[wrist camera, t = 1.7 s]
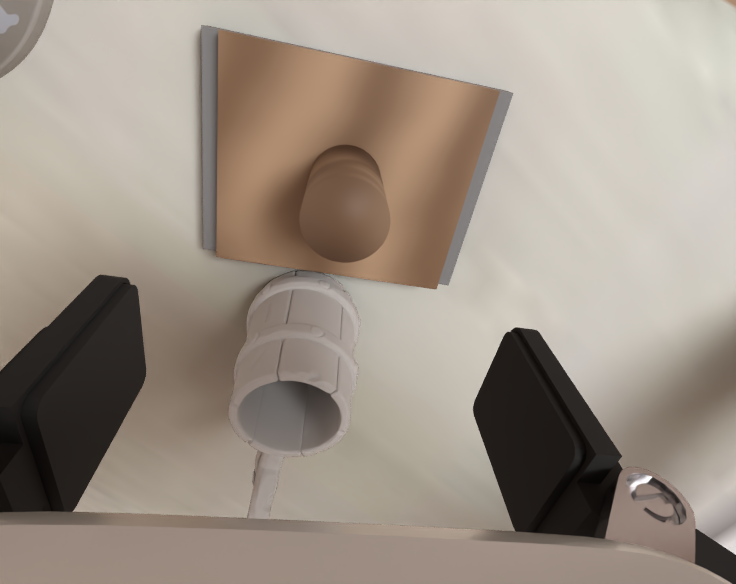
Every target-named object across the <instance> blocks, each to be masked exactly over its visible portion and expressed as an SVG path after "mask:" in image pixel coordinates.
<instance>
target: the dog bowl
mask: <svg viewBox="0 0 736 584" xmlns="http://www.w3.org/2000/svg"><path fill="white" fill-rule="evenodd" d="M52 4H53V0H0V78H1V77H3V76H4V75H6V74H7V73H9V72H10V71H12V70H13V69H14V68H15V67H16V66H17V65H19V64H20V63H21V62H22V61H23V60H24V59H25V57H26V56H27V55H28V54H29V53H30V51H31V50H32V49H33V48H34V46H35V44H36V43H37V41H38V39H39V37H40V36H41V34H42V32H43V30H44V28H45V25H46V23H47V20H48V17H49V15H50V11H51V8H52Z"/></svg>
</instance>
